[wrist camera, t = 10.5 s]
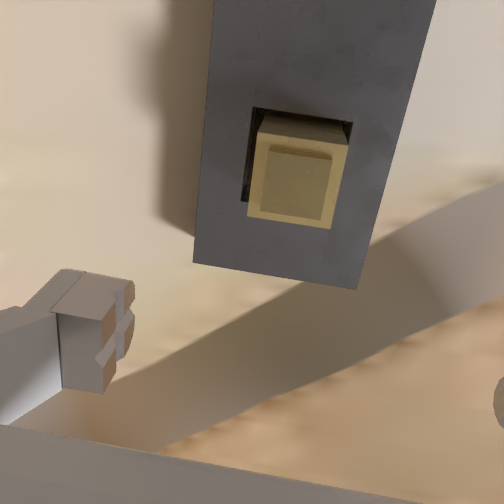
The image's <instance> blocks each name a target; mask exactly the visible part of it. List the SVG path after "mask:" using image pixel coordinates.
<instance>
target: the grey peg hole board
mask: <svg viewBox="0 0 504 504" xmlns="http://www.w3.org/2000/svg"><path fill="white" fill-rule="evenodd" d="M435 4H436V0H214V12H213V24H212V36H211V48H210V60H209V72H208V84H207V96H206V108H205V120H204V132H203V144H202V156H201V168H200V180H199V192H198V204H197V216H196V228H195V240H194V252H193V263H198V264H204V265H210V266H216V267H222V268H228V269H234V270H240V271H246V272H252V273H258V274H264V275H270V276H276V277H282V278H288V279H294V280H300V281H306V282H312V283H318V284H324V285H330V286H335V287H342V288H347V289H353V290H356V289H357V286H358V282H359V278H360V275H361V271H362V268H363V264H364V261H365V257H366V253H367V250H368V246H369V243H370V239H371V235H372V232H373V228H374V225H375V221H376V217H377V214H378V210H379V206H380V203H381V199H382V196H383V192H384V188H385V185H386V181H387V177H388V174H389V170H390V167H391V163H392V159H393V156H394V152H395V149H396V145H397V141H398V138H399V134H400V130H401V127H402V123H403V120H404V116H405V112H406V109H407V105H408V102H409V98H410V94H411V91H412V87H413V83H414V80H415V76H416V73H417V69H418V65H419V62H420V58H421V55H422V51H423V47H424V44H425V40H426V36H427V33H428V29H429V26H430V22H431V18H432V15H433V11H434V8H435ZM257 107H260V108H266V109H273V110H279V111H286V112H292V113H298V114H305V115H311V116H318V117H324V118H331V119H337V120H344V121H347V122H346V126H345V131H344V134H345V137H346V140H347V143H348V145H349V146H348V151H347V156H346V160H345V165H344V169H343V174H342V178H341V183H340V187H339V192H338V196H337V201H336V205H335V210H334V214H333V219H332V223H331V228H330V229H325V228H319V227H313V226H306V225H300V224H293V223H287V222H280V221H274V220H268V219H261V218H255V217H248V216H247V211H248V204H249V196H250V188H251V185H246V184H247V176H248V169H249V161H250V153H251V146H252V138H253V131H254V123H255V116H256V108H257Z"/></svg>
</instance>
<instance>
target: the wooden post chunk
mask: <svg viewBox="0 0 504 504" xmlns="http://www.w3.org/2000/svg"><path fill="white" fill-rule="evenodd" d="M348 146H349V145H348V143H347V140H346V137H345V134H344V131H343V128H342V126H341V123H340V120H337V119H331V118H324V117H318V116H311V115H305V114H298V113H292V112H286V111H279V110H273V109H268V110H267V112H266V115H265V117H264V119H263V121H262V124H261V126H260V128H259V130H258V134H257V141H256V149H255V157H254V165H253V173H252V180H251V188H250V196H249V204H248V211H247V216H248V217H255V218H261V219H268V220H274V221H280V222H287V223H293V224H300V225H306V226H313V227H319V228H325V229H330V228H331V223H332V219H333V214H334V210H335V205H336V201H337V196H338V192H339V187H340V183H341V178H342V174H343V169H344V165H345V160H346V156H347V151H348Z"/></svg>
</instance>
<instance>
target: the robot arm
mask: <svg viewBox="0 0 504 504" xmlns="http://www.w3.org/2000/svg"><path fill="white" fill-rule="evenodd" d="M134 299H135V285H134V283H133V281H131V280H126V279H121V278H116V277H110V276H105V275H100V274H95V273H90V272H88V273H87V272H85V271H79V270H73V269H67V268H66V269H61V270H60V271H59V272H58V273H57V274H55V275H54V276H53V277H52V278H51V279H50V280H49V281H48V282H47V283H46V284H45V285H44V286H43V287H42V288H41V289H40V290H39V291H38V292H37V293H36V294H35V295H34V296H33V297H32V298H31V299H30V300H29V301H28V302H27V303H26V304H25V305H24V306H23V307H18V306H14V307H11V308H8V309H5V310H2V311H0V504H423V503H418V502H413V501H407V500H402V499H396V498H391V497H386V496H380V495H375V494H370V493H364V492H359V491H354V490H348V489H343V488H337V487H332V486H327V485H321V484H316V483H311V482H305V481H300V480H295V479H289V478H284V477H278V476H273V475H268V474H262V473H257V472H252V471H246V470H241V469H236V468H230V467H225V466H220V465H214V464H209V463H204V462H198V461H193V460H188V459H183V458H177V457H172V456H167V455H161V454H156V453H151V452H145V451H140V450H135V449H129V448H124V447H118V446H114V445H108V444H103V443H97V442H92V441H87V440H82V439H76V438H71V437H66V436H60V435H55V434H50V433H44V432H39V431H34V430H28V429H23V428H18V427H12V426H7V425H8V424H10V423H12V422H13V421H15V420H16V419H18V418H19V417H21V416H22V415H24V414H25V413H27V412H28V411H30V410H31V409H33V408H35V407H36V406H38V405H39V404H41V403H43V402H44V401H46V400H47V399H49V398H50V397H52V396H53V395H55V394H56V393H58V392H59V391H61V390H62V388H67V389H73V390H80V391H87V392H93V393H99V394H104V392H105V391H106V389H107V387H108V385H109V383H110V382H111V380H112V378H113V376H114V375H115V373H116V361H118V360H120V359H122V358H124V357H125V355H126V353H127V351H128V349H129V346H130V343H131V340H132V337H133V331H134V323H135V315H134V314H133V312H132V311H131V309H130V308H129V307H130V306H131V304H132V302H133V301H134ZM493 407H494V412H495V416H496V418H497V420H498V423H499V425H500V426H502V427H503V428H504V377H503V378H501V379H500V380H499V382H498V385H497V387H496V389H495V391H494V401H493Z"/></svg>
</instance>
